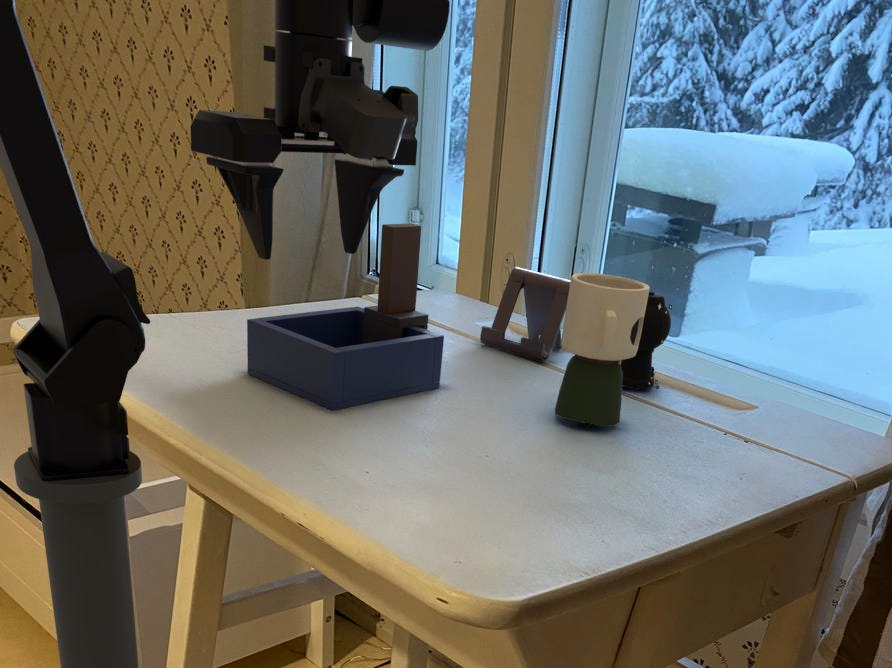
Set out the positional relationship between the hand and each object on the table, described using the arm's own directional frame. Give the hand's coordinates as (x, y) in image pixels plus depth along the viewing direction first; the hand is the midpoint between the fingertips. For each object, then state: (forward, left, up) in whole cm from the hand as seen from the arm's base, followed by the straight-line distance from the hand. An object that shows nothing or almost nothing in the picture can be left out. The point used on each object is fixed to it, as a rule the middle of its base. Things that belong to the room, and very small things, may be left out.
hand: (308, 255), depth 80 cm
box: (+7, +7, -13) cm, 16 cm away
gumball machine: (+38, 0, -13) cm, 40 cm away
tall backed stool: (+13, +9, -11) cm, 20 cm away
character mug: (+25, -9, -13) cm, 30 cm away
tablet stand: (+34, +15, -13) cm, 39 cm away
